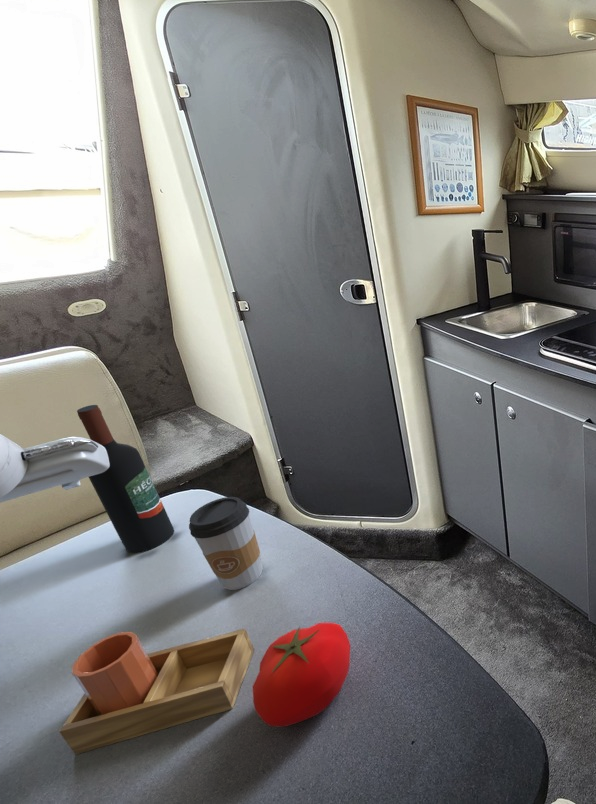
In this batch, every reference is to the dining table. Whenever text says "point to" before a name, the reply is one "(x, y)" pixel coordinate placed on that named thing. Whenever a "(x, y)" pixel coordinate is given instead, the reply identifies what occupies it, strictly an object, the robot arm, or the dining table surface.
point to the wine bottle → (127, 489)
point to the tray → (169, 693)
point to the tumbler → (115, 673)
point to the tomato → (301, 674)
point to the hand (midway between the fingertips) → (26, 496)
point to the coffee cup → (228, 541)
